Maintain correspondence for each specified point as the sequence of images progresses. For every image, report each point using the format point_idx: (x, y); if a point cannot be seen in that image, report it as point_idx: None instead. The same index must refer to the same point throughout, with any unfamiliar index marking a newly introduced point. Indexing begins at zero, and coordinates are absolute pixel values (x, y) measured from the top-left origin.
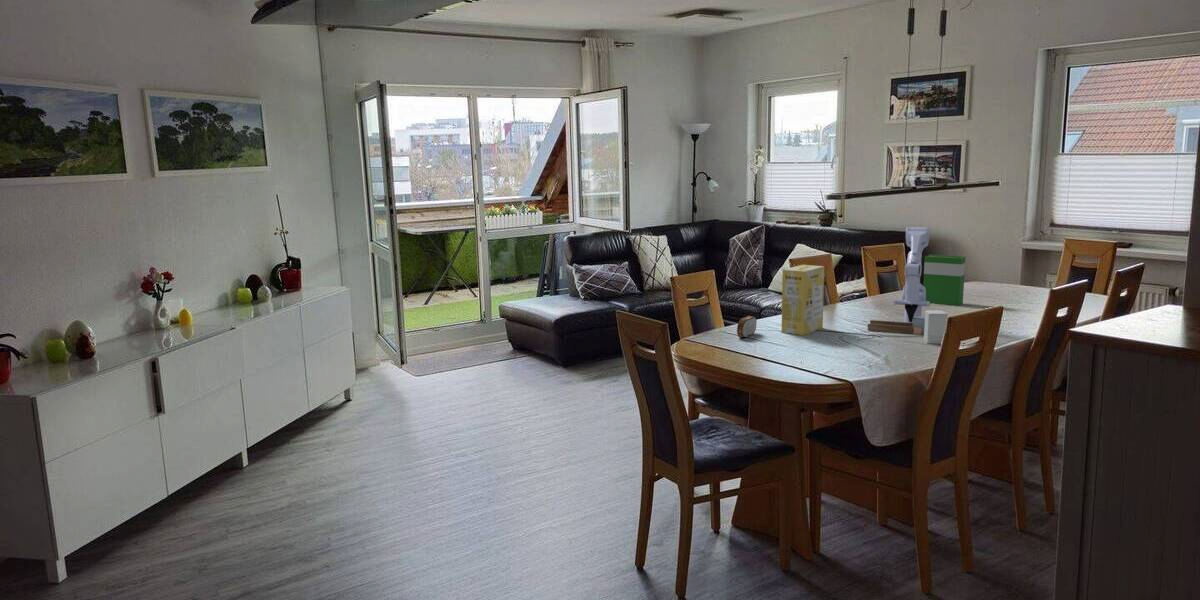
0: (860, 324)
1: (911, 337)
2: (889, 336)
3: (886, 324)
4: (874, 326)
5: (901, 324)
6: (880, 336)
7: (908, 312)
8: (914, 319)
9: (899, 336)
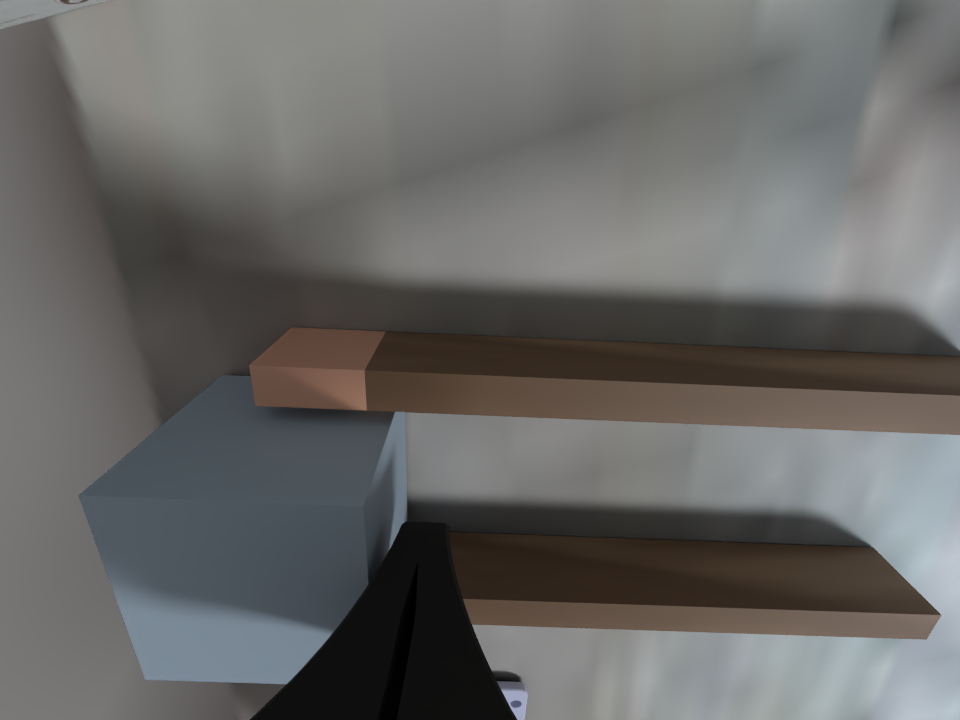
0: (940, 625)
1: (390, 103)
2: (724, 73)
3: (717, 575)
4: (942, 383)
5: (545, 580)
6: (874, 24)
7: (451, 665)
8: (336, 502)
9: (568, 123)
